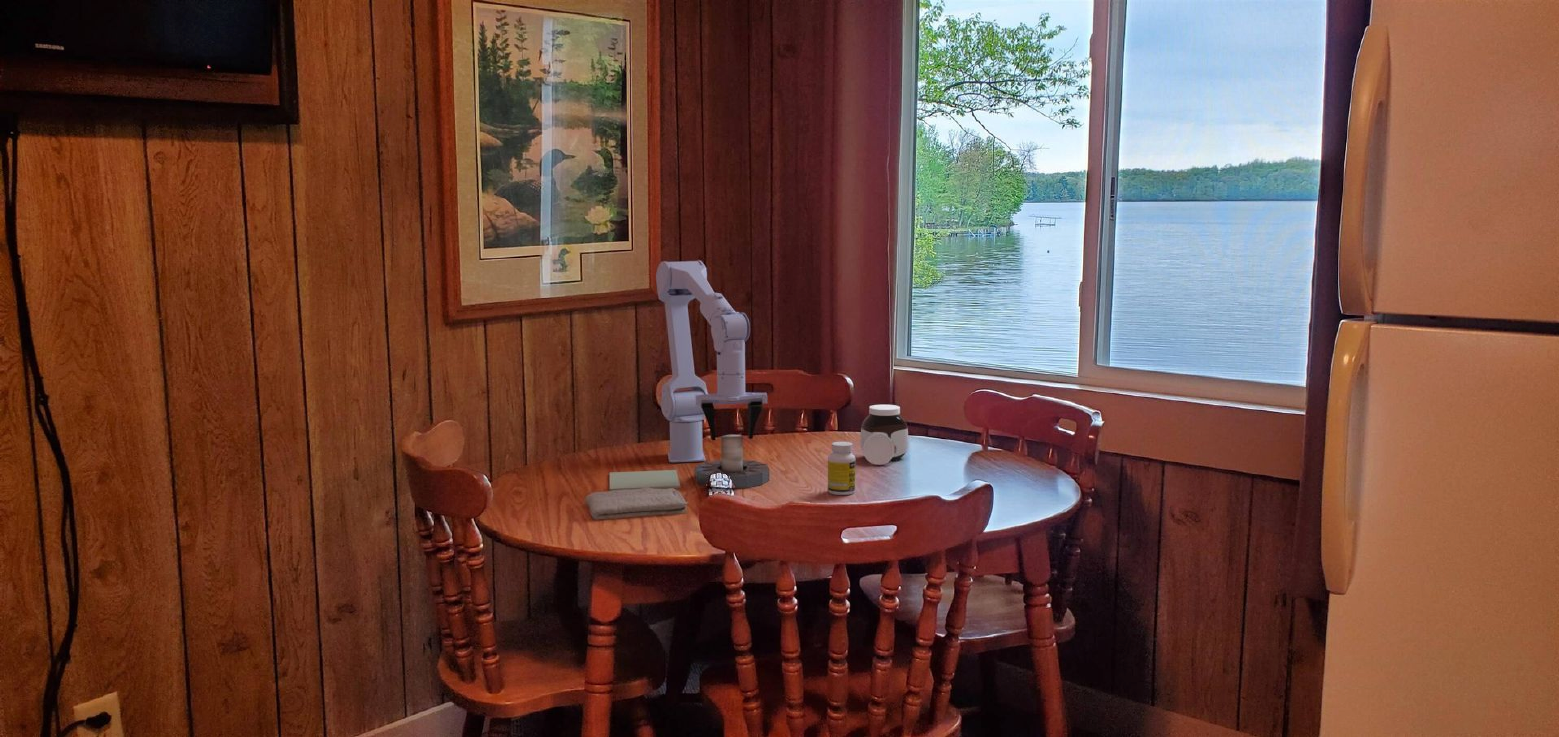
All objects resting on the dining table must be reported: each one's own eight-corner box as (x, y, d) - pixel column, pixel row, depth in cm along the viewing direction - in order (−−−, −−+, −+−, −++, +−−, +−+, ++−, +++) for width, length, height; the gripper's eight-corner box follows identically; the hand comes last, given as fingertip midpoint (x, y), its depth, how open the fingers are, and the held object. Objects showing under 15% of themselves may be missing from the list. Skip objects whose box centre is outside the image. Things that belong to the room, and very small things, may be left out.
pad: (609, 474, 229) (609, 472, 229) (676, 471, 231) (676, 469, 231) (609, 490, 215) (609, 488, 215) (680, 487, 217) (680, 485, 217)
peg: (720, 477, 226) (720, 435, 224) (741, 476, 226) (741, 434, 225) (722, 482, 221) (722, 439, 220) (744, 481, 222) (743, 438, 221)
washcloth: (690, 515, 199) (690, 499, 198) (591, 523, 194) (591, 507, 194) (678, 499, 210) (678, 483, 210) (584, 506, 205) (584, 490, 205)
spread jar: (897, 453, 248) (898, 402, 246) (919, 463, 237) (919, 411, 236) (848, 457, 244) (848, 406, 243) (868, 468, 234) (868, 414, 232)
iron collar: (693, 472, 230) (693, 461, 230) (763, 469, 232) (763, 458, 232) (699, 490, 215) (698, 477, 215) (773, 486, 218) (773, 474, 217)
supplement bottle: (853, 496, 210) (853, 446, 209) (825, 495, 211) (825, 445, 210) (857, 489, 215) (857, 441, 214) (830, 488, 216) (830, 440, 215)
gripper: (696, 376, 216) (698, 443, 218) (769, 374, 218) (769, 441, 220) (694, 372, 223) (695, 437, 224) (764, 370, 225) (764, 434, 227)
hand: (731, 438), depth 223 cm, fingers open, 7 cm apart
